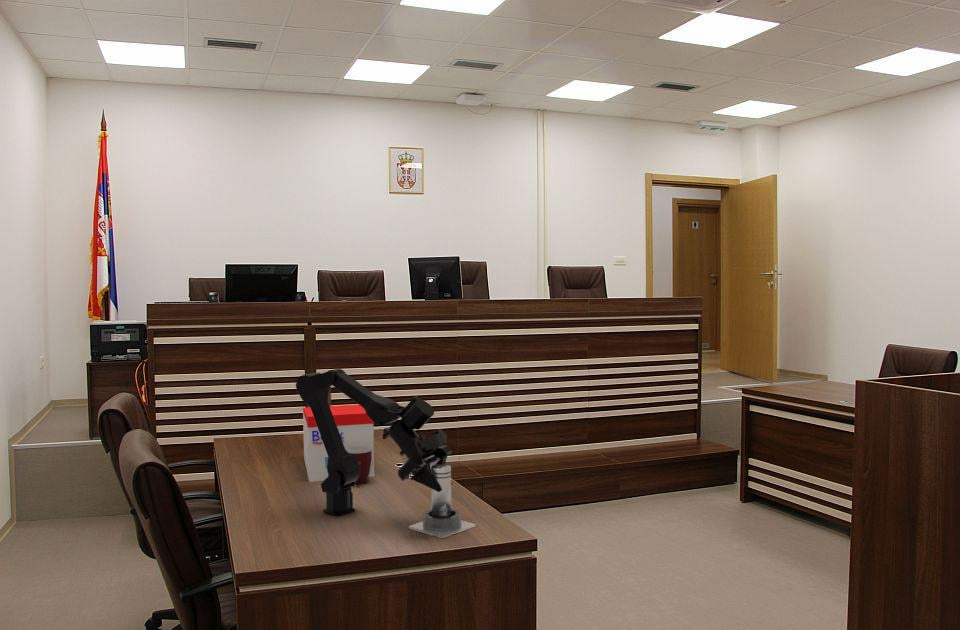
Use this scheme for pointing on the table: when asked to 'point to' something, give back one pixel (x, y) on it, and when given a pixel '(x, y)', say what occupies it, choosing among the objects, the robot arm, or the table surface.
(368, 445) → the red-topped cereal carton
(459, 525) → the ring sleeve
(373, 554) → the table surface
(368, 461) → the mug
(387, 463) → the table surface
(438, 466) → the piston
